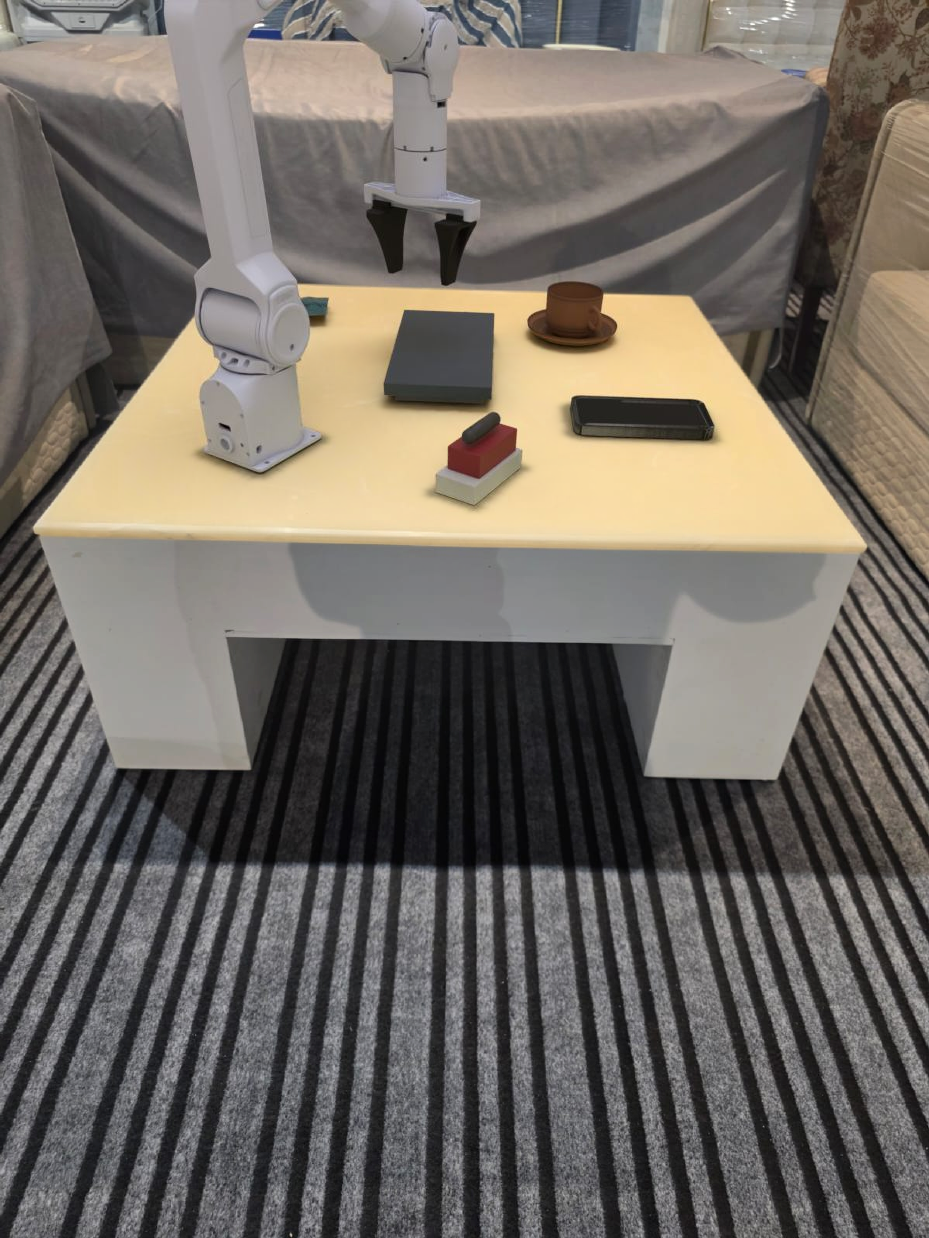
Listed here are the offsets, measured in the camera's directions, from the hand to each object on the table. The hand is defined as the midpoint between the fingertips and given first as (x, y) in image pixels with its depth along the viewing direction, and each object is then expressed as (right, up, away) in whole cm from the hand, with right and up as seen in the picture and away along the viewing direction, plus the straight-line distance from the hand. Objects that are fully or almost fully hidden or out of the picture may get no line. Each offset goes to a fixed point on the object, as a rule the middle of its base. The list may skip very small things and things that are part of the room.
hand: (421, 277), depth 99 cm
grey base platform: (+3, -9, +4) cm, 11 cm away
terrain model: (-20, +1, +17) cm, 26 cm away
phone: (+25, -19, -6) cm, 31 cm away
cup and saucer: (+19, -3, +14) cm, 24 cm away
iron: (+7, -27, -17) cm, 32 cm away
